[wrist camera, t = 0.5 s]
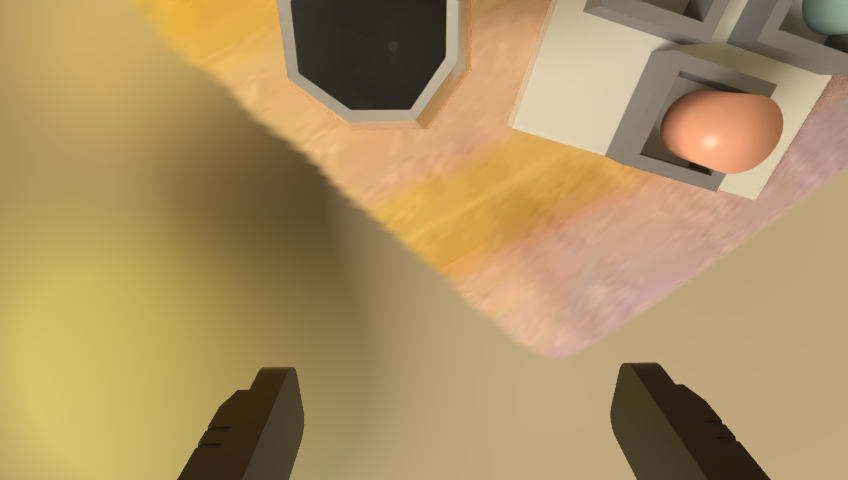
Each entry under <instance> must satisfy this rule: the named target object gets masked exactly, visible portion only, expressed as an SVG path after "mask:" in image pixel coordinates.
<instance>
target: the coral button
mask: <svg viewBox="0 0 848 480" xmlns="http://www.w3.org/2000/svg"><path fill="white" fill-rule="evenodd" d="M782 131H783V115H782V112H781V110H780V108H779V106H778V105H777V103H776V102H774V101H773V100H772V99H770V98H768V97H766V96H763V95H755V94H744V93H732V92H721V91H709V90H696V91H692V92H689V93H687V94H684V95H683V96H681V97H680V98H678V99H677V100H676V101H675V102H673V103H672V105H671V106H670V107H669V108H668V110H667V111H666V113H665V114H664V116H663V119H662V122H661V126H660V139H661V142H662V144H663V146H664V148H665V149H666V150H667V151H668V152H669V153H670V154H672V155H674V156H677V157H679V158H682V159H685V160H688V161H691V162H693V163H696V164H699V165H702V166H705V167H707V168H710V169H713V170H716V171H719V172H721V173H726V174H737V173H742V172H745V171H748V170H750V169H752V168H754V167H756V166H758V165H759V164H761V163H762V162H763V161H764V160H765V159H766V158H767V157H768V156H769V155H770V154H771V153H772V152H773V150H774V149H775V148H776V146H777V144H778V142H779V140H780V138H781V135H782Z"/></svg>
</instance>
